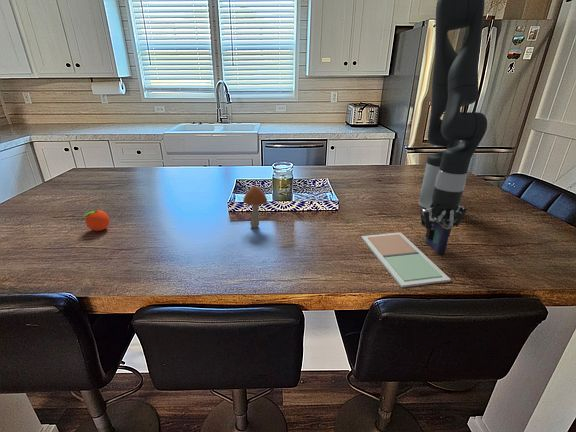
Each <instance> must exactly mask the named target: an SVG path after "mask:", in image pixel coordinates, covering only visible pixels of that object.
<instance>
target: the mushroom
mask: <svg viewBox="0 0 576 432" xmlns="http://www.w3.org/2000/svg"><path fill="white" fill-rule="evenodd" d="M243 197H244V198H243V200H242V202H243V203H244V204H246V205H248V206H252V210H251V211H252V212H251V219H250V228H252V229H257V228H259V226H260V218H259V208H260V206H261V205H264V204H266V203H267V201H268V199H267V196H266V193H264V191H263V190H262V189H261V188H259V187H258V186H255V185H254V186H252V187H251V188H250V189H248V190H247V192H246V194H245V195H244V196H243Z"/></svg>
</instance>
